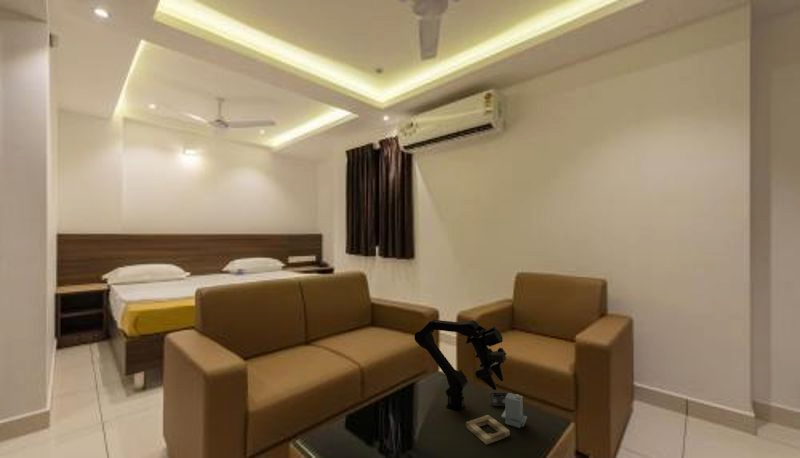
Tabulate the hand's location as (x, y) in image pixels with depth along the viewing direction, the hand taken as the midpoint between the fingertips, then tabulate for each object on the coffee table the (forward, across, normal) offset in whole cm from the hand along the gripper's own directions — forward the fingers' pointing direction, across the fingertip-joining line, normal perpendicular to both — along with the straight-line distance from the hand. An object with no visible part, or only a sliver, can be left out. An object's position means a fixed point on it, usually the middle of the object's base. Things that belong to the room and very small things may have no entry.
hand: (498, 385), depth 147 cm
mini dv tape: (+12, +11, +10) cm, 19 cm away
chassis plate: (+12, -10, +8) cm, 18 cm away
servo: (+16, +1, +2) cm, 16 cm away
